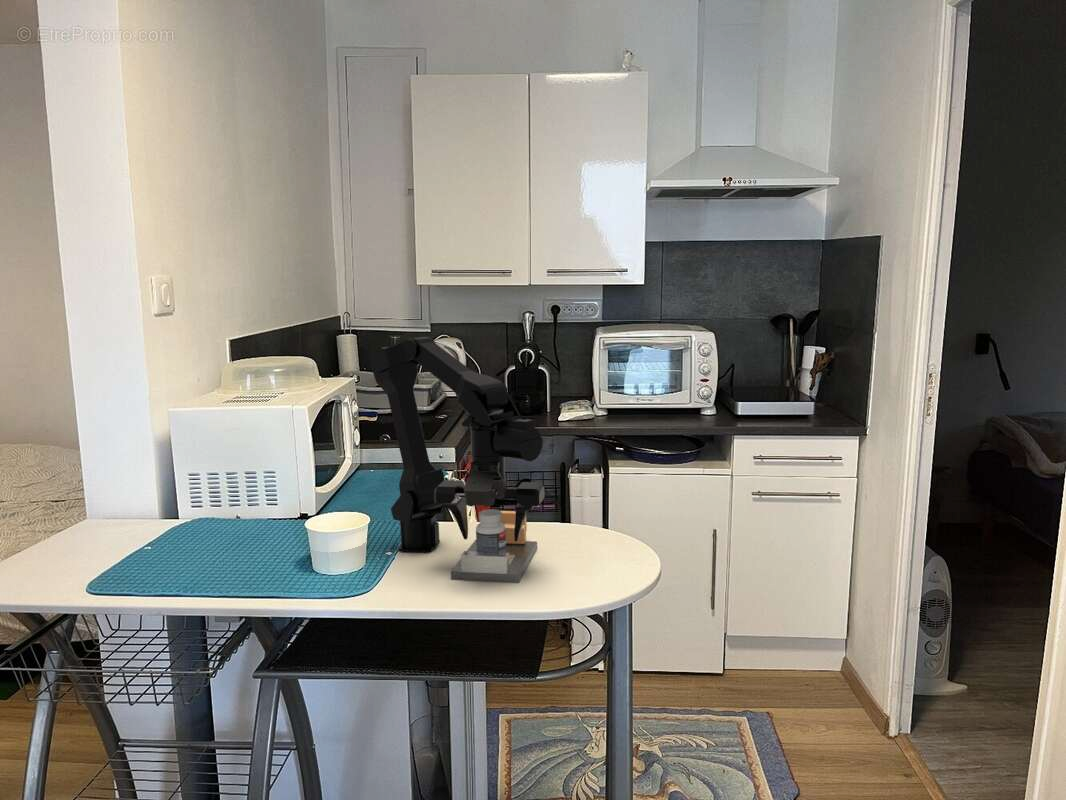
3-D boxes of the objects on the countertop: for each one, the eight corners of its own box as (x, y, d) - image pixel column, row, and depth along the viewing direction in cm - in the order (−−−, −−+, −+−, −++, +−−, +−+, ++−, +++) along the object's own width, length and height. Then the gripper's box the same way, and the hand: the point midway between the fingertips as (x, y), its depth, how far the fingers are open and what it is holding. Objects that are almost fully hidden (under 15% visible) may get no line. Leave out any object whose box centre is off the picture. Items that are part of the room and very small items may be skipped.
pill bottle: (504, 566, 138) (502, 517, 137) (474, 566, 139) (472, 517, 137) (508, 555, 143) (506, 508, 142) (479, 555, 144) (477, 508, 142)
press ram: (482, 542, 150) (481, 522, 150) (492, 529, 158) (491, 510, 157) (524, 543, 149) (523, 523, 148) (531, 531, 156) (531, 511, 155)
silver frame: (450, 579, 137) (449, 554, 136) (476, 546, 153) (475, 524, 153) (518, 582, 135) (518, 557, 134) (537, 549, 151) (536, 526, 150)
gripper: (421, 463, 132) (426, 553, 134) (532, 465, 128) (534, 557, 131) (441, 448, 143) (445, 532, 145) (544, 450, 139) (546, 536, 142)
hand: (491, 539), depth 140 cm, fingers open, 9 cm apart
